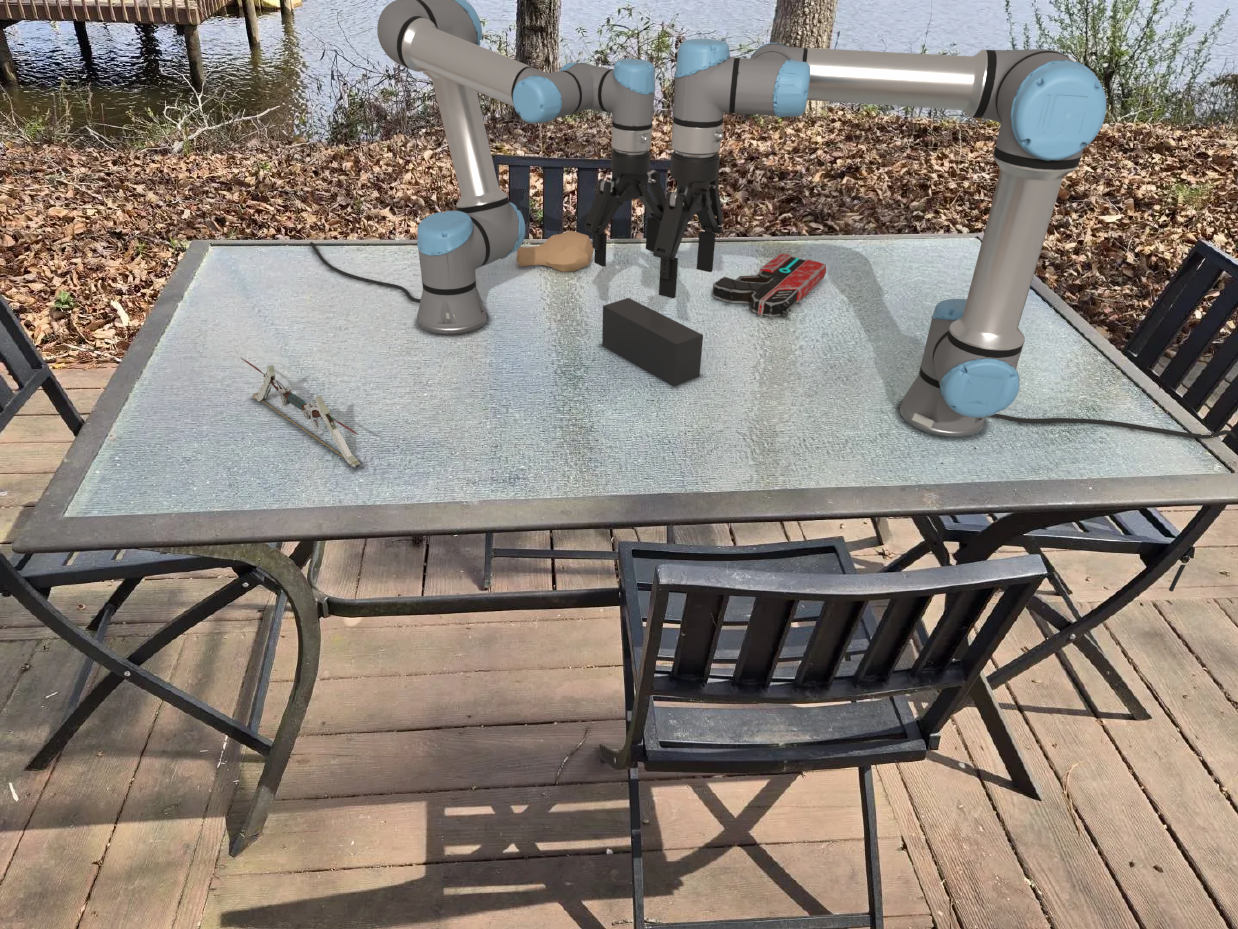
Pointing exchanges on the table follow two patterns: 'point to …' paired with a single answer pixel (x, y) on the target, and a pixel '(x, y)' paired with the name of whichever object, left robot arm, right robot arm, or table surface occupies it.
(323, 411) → the bow
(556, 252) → the squash
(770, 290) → the gun
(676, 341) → the box
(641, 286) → the table surface
